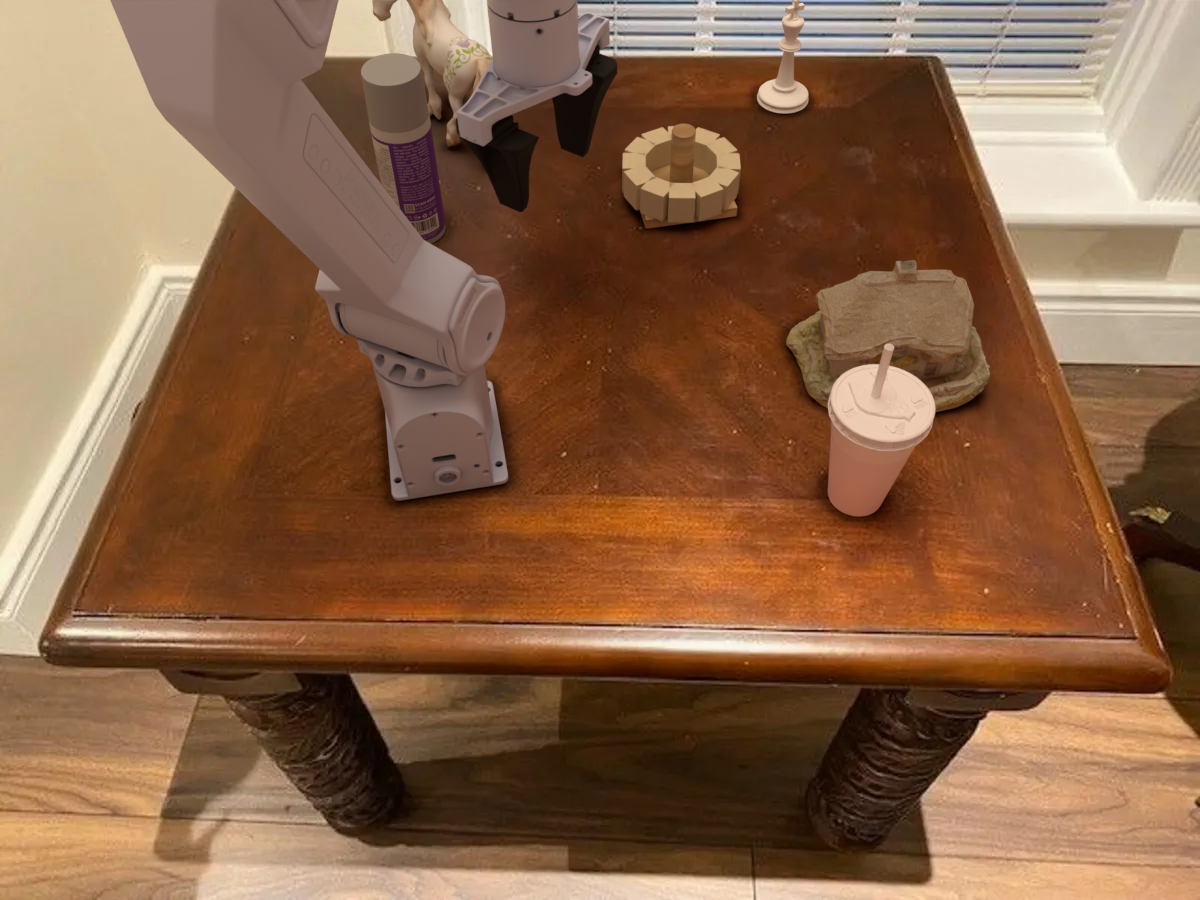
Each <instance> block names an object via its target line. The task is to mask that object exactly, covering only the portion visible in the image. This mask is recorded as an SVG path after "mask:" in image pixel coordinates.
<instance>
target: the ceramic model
mask: <svg viewBox="0 0 1200 900" xmlns="http://www.w3.org/2000/svg"><path fill="white" fill-rule="evenodd" d="M917 266H918V265H917V261H916V260H914V259H912V260H911V259H909V260H905V261H902V260H896V261H895V263H894V267H893V269H892V271H883V270H881V271H880V270H879V271H877V270H868V271H866V272H863V273H862V272H861V273H859V274H857V276H856V277H854V278H852V279H850V280H847V281H844V282H841V283H837V284H835V285H833V286H832V287H831V286H830V287H827V288H823V289H821V290H819V291H818V292H817V293H816V294H815V296H814V303H815V305H816V306H817V307H818V308H819V309H818V311H816V312H815V314H813V315H810V316H809V317H807V318H806V319H805V320H802V321H800V322H798V324H796V325H794V327H792V328H791V329H790V331H789V333H788V335H787V337H786V341H785V345H786V347H787V348H788V349H789V350H790V351H791V353H792V354H793V356H794V358H795V359H796V362H797V364H798V367H799V369H800V371H801V375H802V379H803V382H804V387H805V390H806V392H807V394H808V396H810V397H811V398H812V399H813V400H815V402H817V403H818V404H819V405H821V406H822V407H824V408H826V409H828V400H829V396H830V394H831V391H832V387H833V385H834V383H835V382H836V380H837V379H838V378H839V377H840V376H841V375H842V374H843V373H845V372H846V371H848V370H850V369H852V368H855V367H858V366H862V365H869V364H880V360H881V357H882V353H883V350H884V346H885V345H886V344H892V345H893V346H894V350H893V354H892V357H891V361H890V364H889V366H893V367H897V368H900V369H902V370H905V371H907V372H909V373H911V374H912V375H914V376H915V377H917V378H918V379H919V380H921V381H922V382H923V383H924V384H925V385H926V387H927V388H928V389H929V391H930V392H931V394H932V396H933V399H934V402H935V413H938V412H943V411H947V410H952V409H956V408H958V407H961V406H962V405H965V404H966V403H968V402H970V401H972V400H973V399H975V397H977V396H979V394H981V393H982V392H983V391H984V390H985V388H986V386H987V385H988V383H989V380H990V377H991V372H990V368H991V366H990V365H989V364H988V362H987V360H986V358H987V357H986V355H985V353H984V351H983V347H982V338H981V337H980V335H979V333H978V332H977V329H976V327H975V326H973V320H974V319H973V317H974V310H975V304H974V303H975V302H974V300H973V296H972V294H971V290H970V289H969V286H968V283H967V281H966V279H964V278H963V277H959V276H957V275H955V274H954V273H953V271H952V270H950V269H917V268H918V267H917Z"/></svg>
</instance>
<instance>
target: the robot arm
mask: <svg viewBox="0 0 1200 900" xmlns="http://www.w3.org/2000/svg"><path fill="white" fill-rule="evenodd" d="M109 1H110V3H111V6H112V8H113V10H114V13H115V15H116V17H117V20H118V22H119V25H120V27H121V29H122V31H123V34H124V37H125V39H126V41H127V44H128V46H129V49H130V51H131V53H132V56H133V58H134V61H135V62H136V65H137V67H138V70H139V73H140V75H141V78H142V79H143V82H144V84H145V86H146V90H147V92H148V94H149V96H150V99H151V100H152V102H153V104H154V106H155V108H156V109H157V110H158V112H159V113H160V114H161V116H162V117H163V119H164V120H165V121H166V122H167V123H168V124H169V125H170V126H171V127H172V128H173V129H174V130H176V131H177V132H178V133H179V135H181V136H182V137H183V139H185V140H186V141H187V142H188V143H189V144H190V145H191V146H192V147H193V148H194V149H195V151H197V152H199V154H200V155H201V156H202V157H203V158H204V159H205V160H206V161H208V162H209V164H210V165H211V166H213V167H214V168H215V169H216V171H218V172H219V173H220V174H221V175H222V176H223V177H224V178H225V179H226V180H227V181H228V182H229V183H230V184H231V185H232V186H233V187H234V188H235V189H236V190H237V191H238V192H239V193H240V194H242V195H243V196H244V197H245V198H246V199H247V200H248V201H249V202H250V203H251V204H252V205H253V206H254V207H255V208H256V209H257V210H258V211H259V212H260V213H261V214H262V215H263V216H264V217H265V218H266V219H267V220H268V221H269V222H270V223H271V224H272V225H273V226H275V227H276V228H277V229H278V230H279V231H280V233H282V234H283V235H284V236H285V237H286V238H287V239H288V240H289V241H290V242H291V243H292V244H293V245H294V246H295V247H296V248H297V249H298V250H299V251H300V252H302V254H304V256H305V257H307V259H309V261H311V263H313V264H314V265H315V266H316V267H317V268H318V269H319V270H318V275H317V278H316V282H315V285H314V291H315V292H316V293H317V294H318V295H319V296H320V297H321V298H322V300H324V302H325V304H326V307H327V309H328V314H329V317H330V318H329V319H330V321H331V323H332V325H333V327H334V328H335V330H336V331H337V332H338V333H340V334H342V335H344V336H347V337H351V338H355V339H356V342H357V346H358V349H359V352H360V353H361V354H363V355H365V356H367V357H368V358H369V360H370V361H371V365H372V369H373V372H374V376H375V380H376V383H377V386H378V390H379V393H380V398H381V401H382V404H383V408H384V413H385V414H384V415H385V416H384V417H385V428H386V440H387V441H386V443H387V451H388V465H389V478H390V479H389V480H390V491H391V496H392V499H393V500H395V501H399V502H400V501H407V500H412V499H419V498H424V497H432V496H438V495H444V494H450V493H455V492H461V491H468V490H474V489H475V490H476V489H481V488H486V487H492V486H493V487H494V486H498V485H499V486H500V485H503V484H506V483H507V482H508V481H509V472H508V471H509V470H508V467H507V460H506V454H505V449H504V443H503V436H502V431H501V426H500V420H499V419H500V418H499V412H498V408H497V407H498V406H497V403H496V396H495V390H494V384H493V382H492V381H491V380H488V379H487V377H488V376H487V371H486V363H487V362H488V361H489V359H490V358H491V357H492V356H493V354H494V352H495V350H496V348H497V346H498V343H499V341H500V339H501V336H502V333H503V330H504V325H505V318H506V300H505V296H504V293H503V290H502V287H501V284H500V283H499V281H498V280H497V278H495V277H493V276H490V275H486V274H485V275H484V274H478V273H477V272H476V271H475V270H474V268H473V267H472V266H471V265H469V264H468V263H466V262H465V261H462V260H461V259H459V258H457V257H456V256H453V255H452V254H450V253H448V252H446V251H444V250H442V249H441V248H439V247H437V246H435V245H434V244H433V243H432V244H430V243H428V242H426V241H425V240H424V239H423V238H422V237H421V236H420V235H419V233H418V232H417V231H416V229H415V228H414V227H413V225H412V224H411V223H410V221H409V220H408V219H407V218H406V216H405V215H404V214H403V212H402V211H401V210H400V208H399V207H398V206H397V204H396V203H395V202H394V201H393V199H392V198H391V197H390V195H389V194H388V193H387V191H386V190H385V189H384V187H383V186H382V185H381V181H379V179H378V178H377V177H376V175H375V174H374V173H373V172H372V170H371V169H370V168H369V166H368V165H367V164H366V162H365V161H364V160H363V159H362V157H361V156H360V155H359V154H358V152H357V151H356V150H355V148H354V147H353V145H352V144H351V143H350V142H349V140H348V139H347V137H346V136H345V135H344V133H342V131H341V130H340V129H339V127H338V126H337V125H336V123H335V122H334V121H333V119H332V118H331V117H330V116H329V115H328V113H327V112H326V110H325V109H324V107H323V106H322V105H321V104H320V102H319V101H318V100H317V98H316V97H315V96H314V94H313V93H312V92H311V90H310V89H309V88H308V87H307V86H306V84H305V83H304V81H303V80H304V79H305V78H307V77H309V76H311V75H313V74H314V73H317V72H318V71H320V70H321V69H322V68H323V65H324V62H325V58H326V54H327V50H328V46H329V41H330V37H331V32H332V29H333V25H334V20H335V18H336V17H335V16H336V13H337V9H338V4H339V0H109ZM486 5H487V15H488V16H487V17H488V25H489V34H490V35H489V37H490V46H491V56H492V58H493V59H492V60H491V62H490V64H489V66H488V67H487V69H486V71H485V73H484V74H483V76H482V78H481V80H480V81H479V83H478V85H477V87H476V88H475V90H474V92H473V91H472V93H471V95H470V97H469V98H468V100H467V101H466V102H465V103H464V104H463V105H462V107H461V108H460V109H459V110H458V111H457V118H456V121H455V123H456V130H457V134H458V135H459V138H461V139H462V141H463V142H464V143H465V144H466V146H467V147H469V149H470V150H471V151H472V153H473V154H474V155H475V157H476V158H477V160H478V161H479V162H480V164H481V166H482V168H483V169H484V171H485V173H486V175H487V177H488V179H489V181H490V184H491V186H492V188H493V190H494V192H495V195H496V198H497V200H498V202H499V204H500V205H503V206H504V207H507V208H509V209H511V210H513V211H516V212H519V213H522V212H524V211H525V210H527V208H528V205H529V202H530V201H529V199H530V170H531V169H530V168H531V161H532V158H533V154H534V150H535V148H536V145H537V143H538V141H539V139H540V136H537V135H535V134H532V133H531V132H527V131H525V130H523V129H520V127H519V122H518V121H516V122H515V121H514V114H517V113H519V112H522V111H524V110H527V109H529V108H532V107H533V106H537V105H540V103H543V102H545V101H549V100H550V99H551V100H552V104H553V111H554V118H555V128H556V135H557V139H558V144H559V147H560V149H561V150H564V151H566V152H568V153H571V154H573V155H575V156H578V157H580V158H584V157H586V156H587V155H588V153H589V150H590V148H591V147H590V146H591V143H592V139H593V136H594V135H593V134H594V131H595V127H596V122H597V119H598V116H599V113H600V109H601V106H602V103H603V101H604V99H605V96H606V94H607V92H608V90H609V88H610V86H611V85H612V83H613V81H614V80H615V78H616V76H617V75H618V62H617V60H616V59H615V58H613V57H611V56H608V55H605V54H602V53H601V51H603V50H605V48H607V47H608V46H609V45H610V43H611V41H610V40H611V39H610V38H611V37H610V19H609V18H607V17H604V16H601V15H599V14H596V13H593V12H590V11H587V10H586V11H585V12H584V13H582V14H581V15H579V11H578V10H579V9H578V7H579V5H578V0H486ZM302 79H303V80H302ZM498 465H501V466H498ZM399 481H400V482H399Z"/></svg>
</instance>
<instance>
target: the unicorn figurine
mask: <svg viewBox="0 0 1200 900" xmlns="http://www.w3.org/2000/svg"><path fill="white" fill-rule="evenodd" d="M371 1H372V15H373V16H374V17H376V19H377V20H378V21H379V22H385V21H387V20H389V19H391V16H392V14H391V9H392V8H393V5H394V4H395V3H396V2H398V0H371ZM406 2H407V4H408V5H409V8H410V9H411V12H412V13H413V17H414V25H413V28H412V47H413V52H414V54H415V56H416V57H417V60H418V62H419V63H420V65H421V70H422V71H423V76H424V77H423V81H424V84H425V86H426V88H427V91H428V101H427V105H428V111H429V116H430V117H432V115H434V116H435V118H436V119H437V120H441V119H442V105H443V101H442V99H441V97H440V96H439V95H438V93H437V90H436V87H437V79H436V76H435V74H434V70H435V71H436V73H438V74H439V75H440V76H441V77H442V79H443V85H444V86H445V89H446V91H447V94H448V102H449V104H450V107H451V109H452V113H453V115H452V117H451V119H450V120H449V121H448V122H447V123H446V135H445V136H446V137H445V139H446V145H447V147H449V148H450V147H455V146H458V145H459V144H460V143H461V140H460V136H459V135H458V134H457V130H456V123H455V121H456V118H457V111H458V110H459V109H460V108H461V107H462V106H463V103H464V102H463V101H464V98H465V96H466V95H467V94H468V93H469V92H470V91H472V93H473V92H474V90H475V88H476V87H477V85H478V83H479V81H480V80H481V78H482V76H483V74H484V73H485V71H486V69H487V67H488V66H489V64H490V62H491V60H492V59H493V56H492V54H490V53H489V51H488V50H487V48H486V47H485V46H484V45H482V44H481V43H480V42H479V41H477V40H474V39H471V38H469V37H468V36H467V35H466V34H465V33H464V32H463V31H461V30H460V29H459V28H458V27H457V26H456V25H455V24H454V23H453V22H452V21H451V20H450V19H451V15H452V14H451V12H450V10H449V8H448V7H447V6H446V4H445V3H444V1H443V0H406Z"/></svg>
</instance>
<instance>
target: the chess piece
mask: <svg viewBox="0 0 1200 900" xmlns="http://www.w3.org/2000/svg"><path fill="white" fill-rule="evenodd" d="M804 10H805V4H804V3H803V2H800V0H792V1H791V5H788V6H785V11H784V12H785V13H786V14H787V15H785V16H783V17H782V19H781V25H782V30H783V36H784V37H783V38H781V39H780V40H779V41H778V43H777V47H778V49H779V50H781V51H782V56H781V62H780V65H779V69H778V72H777V76H776V78H773V79H769V80H767V81H765V82H763V84H761V85H760V86H759V89H758V91H757V94H756V101H757V103H758V105H759V106H760V107H762V108H763V109H765V110H766V111H768V112H771V113H774V114H781V115H784V114H785V115H786V114H788V115H789V114H794V113H797V112H800V111H802V110H804V109H805V108H806V107H807V106H808V104H809V90H808V89H807V87H806V86H805V85H804V84H802V83H800V81H797V80H795V53H796V52H798V51H801V49H802V41H800V40H799V39H798V37H799V35H800V32H801V31H802V29H803V27H804V25H805V19H804V17H802V16H801V15H798V14H799V12H800V11H804Z"/></svg>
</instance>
